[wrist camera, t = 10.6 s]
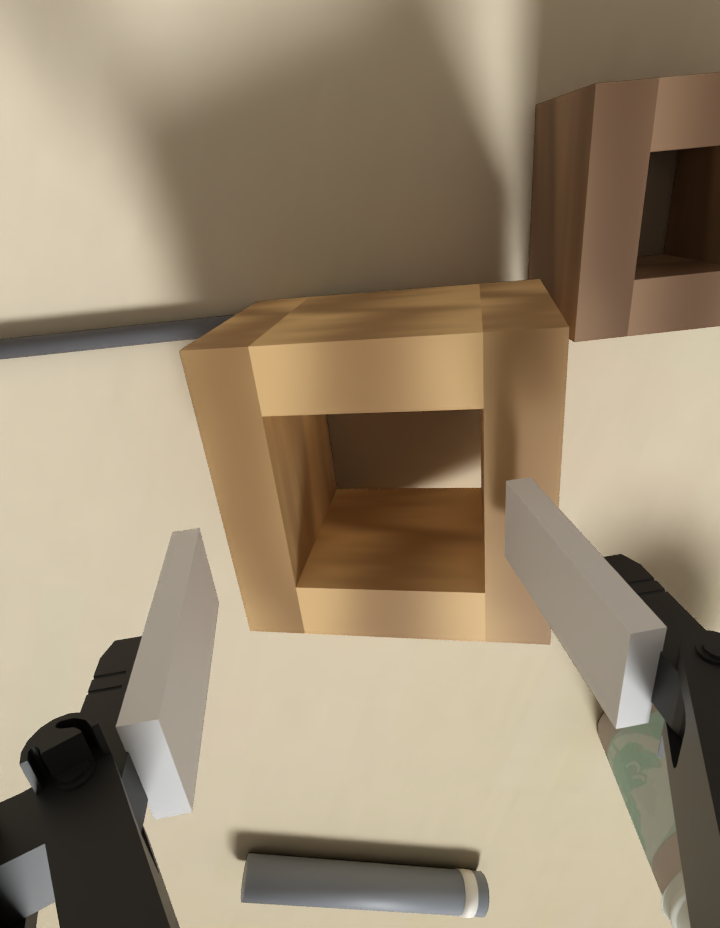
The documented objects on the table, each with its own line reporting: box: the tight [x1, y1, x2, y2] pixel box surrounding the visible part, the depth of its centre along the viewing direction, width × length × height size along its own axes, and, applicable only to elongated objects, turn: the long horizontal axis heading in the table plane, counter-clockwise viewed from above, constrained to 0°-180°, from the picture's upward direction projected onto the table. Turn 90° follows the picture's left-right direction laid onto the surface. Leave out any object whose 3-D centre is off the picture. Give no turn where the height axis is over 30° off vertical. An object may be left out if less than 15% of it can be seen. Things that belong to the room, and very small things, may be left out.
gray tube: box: [241, 853, 489, 918], centre depth 41 cm, size 3×3×18 cm
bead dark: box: [528, 72, 720, 342], centre depth 21 cm, size 8×8×5 cm
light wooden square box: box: [179, 279, 569, 645], centre depth 22 cm, size 12×12×8 cm
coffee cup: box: [598, 703, 691, 928], centre depth 33 cm, size 8×8×12 cm
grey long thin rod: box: [0, 315, 235, 359], centre depth 24 cm, size 17×1×1 cm, turn 95°
